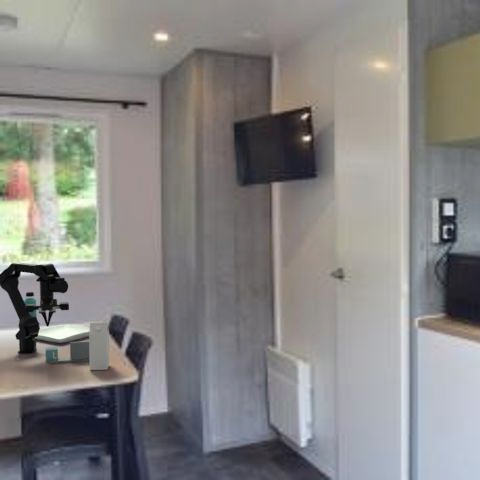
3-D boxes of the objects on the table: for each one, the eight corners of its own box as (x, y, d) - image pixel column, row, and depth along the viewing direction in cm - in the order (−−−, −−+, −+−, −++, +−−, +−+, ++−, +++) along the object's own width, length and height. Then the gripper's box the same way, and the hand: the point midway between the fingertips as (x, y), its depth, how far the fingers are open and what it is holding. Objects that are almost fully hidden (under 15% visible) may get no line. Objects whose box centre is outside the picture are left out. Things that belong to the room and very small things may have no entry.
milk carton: (92, 365, 252) (91, 321, 250) (109, 365, 252) (108, 320, 251) (89, 370, 245) (88, 324, 243) (107, 370, 245) (106, 324, 244)
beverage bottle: (25, 330, 321) (24, 293, 320) (23, 328, 327) (22, 291, 326) (38, 329, 324) (37, 292, 323) (36, 327, 330) (35, 291, 329)
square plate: (101, 335, 310) (101, 328, 309) (60, 346, 287) (59, 338, 286) (65, 329, 324) (65, 322, 324) (23, 339, 301) (22, 332, 301)
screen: (70, 358, 258) (70, 342, 258) (70, 358, 259) (70, 342, 259) (99, 356, 262) (98, 340, 261) (98, 356, 263) (98, 340, 262)
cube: (45, 361, 258) (45, 350, 258) (46, 358, 263) (45, 347, 263) (57, 360, 260) (57, 349, 259) (57, 358, 265) (57, 346, 264)
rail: (49, 364, 254) (49, 361, 254) (49, 361, 258) (49, 359, 258) (100, 360, 260) (100, 357, 260) (99, 357, 264) (99, 355, 264)
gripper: (23, 295, 258) (24, 331, 259) (68, 293, 263) (69, 328, 264) (24, 291, 268) (25, 326, 269) (68, 289, 274) (69, 323, 275)
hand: (47, 326), depth 269 cm, fingers closed
